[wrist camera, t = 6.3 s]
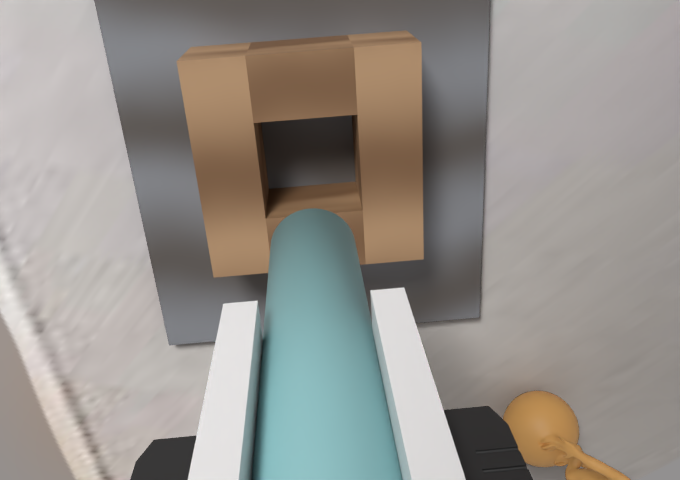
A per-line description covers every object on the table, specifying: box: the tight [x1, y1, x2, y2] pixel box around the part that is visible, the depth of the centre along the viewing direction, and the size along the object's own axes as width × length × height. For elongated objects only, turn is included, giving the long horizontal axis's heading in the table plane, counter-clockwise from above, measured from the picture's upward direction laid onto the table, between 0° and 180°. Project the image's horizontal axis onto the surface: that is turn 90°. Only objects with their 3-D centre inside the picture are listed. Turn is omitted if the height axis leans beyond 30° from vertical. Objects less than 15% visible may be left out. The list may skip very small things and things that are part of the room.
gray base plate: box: [94, 0, 490, 345], centre depth 27 cm, size 20×16×4 cm
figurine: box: [503, 391, 630, 480], centre depth 31 cm, size 8×6×12 cm
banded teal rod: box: [252, 208, 403, 480], centre depth 13 cm, size 3×3×15 cm
